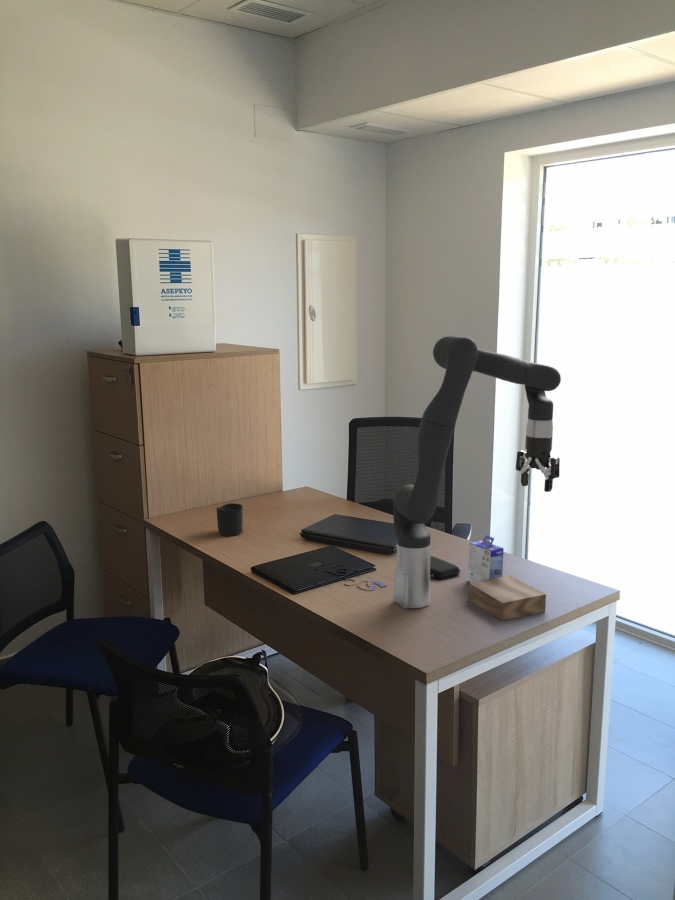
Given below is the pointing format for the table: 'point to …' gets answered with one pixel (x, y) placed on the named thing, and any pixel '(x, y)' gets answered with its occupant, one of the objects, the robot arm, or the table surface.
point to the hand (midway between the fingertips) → (536, 488)
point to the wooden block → (507, 597)
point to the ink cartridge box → (484, 560)
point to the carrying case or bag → (442, 568)
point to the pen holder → (230, 519)
